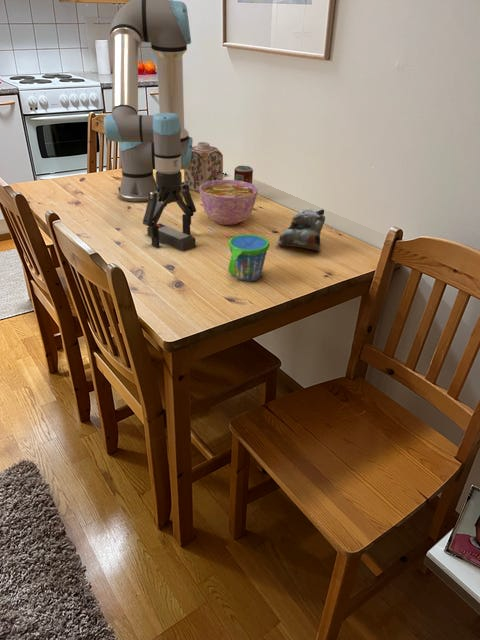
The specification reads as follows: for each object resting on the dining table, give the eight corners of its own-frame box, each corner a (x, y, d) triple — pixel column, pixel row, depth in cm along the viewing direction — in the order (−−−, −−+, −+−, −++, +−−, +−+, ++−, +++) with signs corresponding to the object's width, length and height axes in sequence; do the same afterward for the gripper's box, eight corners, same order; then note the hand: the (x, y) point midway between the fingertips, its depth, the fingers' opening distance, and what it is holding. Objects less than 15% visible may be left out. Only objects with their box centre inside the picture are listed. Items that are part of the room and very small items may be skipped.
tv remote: (195, 246, 150) (195, 236, 148) (183, 251, 147) (183, 241, 145) (160, 231, 159) (159, 222, 158) (147, 235, 156) (147, 225, 154)
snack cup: (244, 292, 126) (245, 256, 121) (214, 279, 132) (214, 244, 126) (279, 272, 136) (282, 239, 131) (250, 261, 142) (252, 228, 136)
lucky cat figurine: (269, 243, 154) (281, 200, 152) (298, 252, 160) (310, 211, 158) (296, 247, 141) (309, 200, 139) (327, 257, 147) (340, 212, 146)
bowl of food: (187, 220, 169) (186, 187, 163) (227, 207, 182) (228, 176, 175) (228, 236, 158) (229, 201, 151) (268, 221, 170) (270, 189, 164)
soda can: (248, 202, 187) (250, 170, 181) (231, 200, 189) (232, 168, 182) (253, 197, 193) (255, 166, 187) (236, 195, 195) (237, 164, 188)
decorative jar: (201, 182, 208) (201, 138, 198) (223, 187, 202) (224, 143, 193) (183, 188, 199) (182, 143, 190) (205, 194, 194) (205, 147, 184)
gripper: (143, 181, 132) (148, 254, 143) (207, 166, 147) (207, 233, 158) (126, 175, 136) (132, 247, 147) (190, 161, 151) (191, 227, 163)
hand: (171, 240), depth 153 cm, fingers open, 12 cm apart
